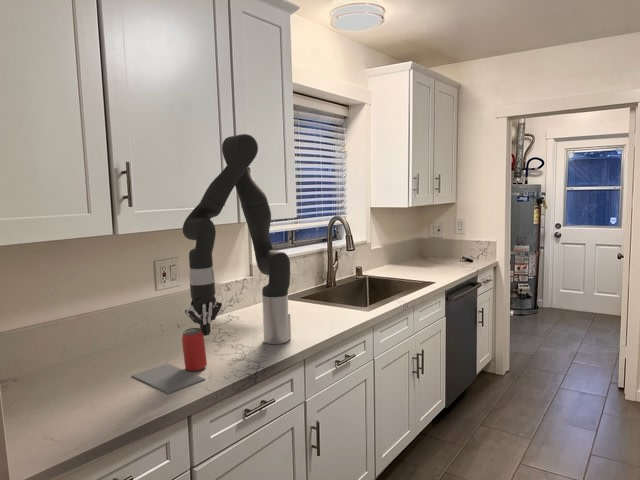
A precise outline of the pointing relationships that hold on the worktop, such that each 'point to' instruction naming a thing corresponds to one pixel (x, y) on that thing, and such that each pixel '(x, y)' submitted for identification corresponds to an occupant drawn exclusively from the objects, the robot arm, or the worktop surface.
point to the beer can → (194, 349)
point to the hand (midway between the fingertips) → (205, 334)
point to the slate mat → (168, 378)
